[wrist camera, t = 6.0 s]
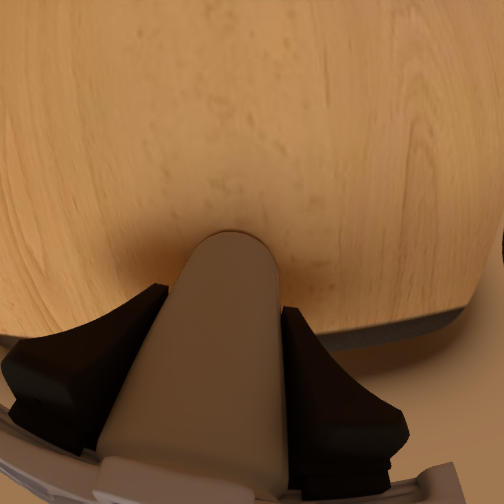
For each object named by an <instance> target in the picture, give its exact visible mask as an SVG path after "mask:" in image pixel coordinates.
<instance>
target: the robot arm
mask: <svg viewBox="0 0 504 504" xmlns="http://www.w3.org/2000/svg"><path fill="white" fill-rule="evenodd" d="M168 292H169V286H167V285H162V284H157V283H154V284H153V285H151V286H150V287H148V288H147V289H145V290H144V291H143V292H141V293H140V294H138V295H137V296H135V297H134V298H132V299H131V300H129V301H128V302H126V303H125V304H123V305H121V306H120V307H118V308H116V309H114V310H113V311H111V312H109V313H108V314H106V315H104V316H102V317H100V318H98V319H96V320H93V321H91V322H89V323H87V324H84V325H81V326H79V327H76V328H73V329H70V330H67V331H64V332H60V333H57V334H53V335H48V336H43V337H38V338H31V339H23V340H19V341H18V342H17V343H16V345H15V346H14V347H13V348H12V349H11V351H10V352H9V353H8V354H7V355H6V357H5V358H4V359H3V360H2V362H1V370H2V374H3V376H4V378H5V380H6V382H7V384H8V386H9V387H10V389H11V391H12V393H13V394H14V396H15V398H16V399H17V400H16V401H15V403H14V404H13V406H12V407H11V409H8V408H6V407H5V406H3V405H2V404H0V472H1V473H3V474H4V475H5V476H7V477H8V478H10V479H11V480H13V481H14V482H15V483H17V484H18V485H20V486H21V487H23V488H24V489H26V490H27V491H29V492H31V493H32V494H34V495H35V496H37V497H39V498H41V499H42V500H44V501H46V502H48V503H49V504H466V502H465V498H464V495H463V492H462V488H461V485H460V482H459V479H458V476H457V473H456V470H455V467H454V464H453V462H449V463H445V464H441V465H437V466H433V467H431V468H428V469H426V470H425V471H423V472H421V473H420V474H419V475H418V476H417V477H416V478H412V479H407V480H402V481H397V482H391V483H390V479H389V474H388V470H389V469H391V462H390V458H391V457H392V456H393V455H395V454H396V453H397V452H398V451H399V450H400V449H401V448H402V447H403V446H404V444H405V443H406V442H407V440H408V438H409V436H410V434H409V430H408V427H407V423H406V421H405V418H404V415H403V413H402V411H401V410H399V409H397V408H395V407H394V406H392V405H390V404H388V403H386V402H385V401H383V400H381V399H380V398H378V397H377V396H375V395H374V394H372V393H371V392H369V391H368V390H367V389H365V388H364V387H363V386H361V385H360V384H359V383H358V382H357V381H355V380H354V379H353V378H352V377H351V376H349V374H348V373H346V372H345V371H344V370H343V369H342V367H341V366H340V365H339V364H338V363H337V362H336V361H335V360H334V359H333V358H332V357H331V356H330V354H329V353H328V352H327V351H326V349H325V348H324V347H323V346H322V344H321V343H320V341H319V340H318V339H317V337H316V336H315V334H314V333H313V331H312V330H311V328H310V327H309V325H308V323H307V322H306V320H305V319H304V317H303V315H302V314H301V312H300V311H299V309H298V308H293V307H286V306H283V310H282V314H281V328H282V344H283V362H284V378H285V394H286V412H287V436H288V474H289V479H288V489H287V492H286V494H285V495H284V496H283V497H282V498H279V499H278V501H279V502H280V503H274V502H267V501H261V500H255V494H254V491H253V490H252V489H251V488H249V487H247V486H245V485H243V484H240V483H238V482H233V481H228V480H224V479H218V478H212V477H206V476H200V475H194V474H189V473H184V472H180V471H175V470H171V469H167V468H162V467H158V466H155V465H151V464H147V463H144V462H140V461H137V460H134V459H129V458H124V457H120V456H111V457H105V458H104V459H103V462H102V464H101V467H100V466H96V464H98V463H100V461H99V459H98V457H97V455H96V448H97V442H98V439H99V437H100V434H101V432H102V430H103V427H104V425H105V423H106V421H107V418H108V416H109V414H110V411H111V409H112V407H113V405H114V403H115V400H116V398H117V396H118V394H119V392H120V389H121V387H122V385H123V383H124V381H125V379H126V377H127V375H128V372H129V370H130V368H131V366H132V364H133V362H134V360H135V358H136V356H137V354H138V352H139V350H140V348H141V346H142V344H143V342H144V340H145V338H146V336H147V334H148V332H149V330H150V328H151V326H152V324H153V322H154V320H155V318H156V316H157V314H158V313H159V311H160V309H161V307H162V305H163V304H164V302H165V300H166V298H167V297H168Z"/></svg>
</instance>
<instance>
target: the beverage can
mask: <svg viewBox="0 0 504 504" xmlns="http://www.w3.org/2000/svg"><path fill="white" fill-rule="evenodd" d="M96 455H97V457H98V459H99V461H100V463H98V464H96V466H100V467H101V464H102V462H103V459H104V458H105V457H111V456H120V457H124V458H129V459H134V460H137V461H140V462H144V463H147V464H151V465H155V466H158V467H162V468H167V469H171V470H175V471H180V472H184V473H189V474H194V475H200V476H206V477H212V478H218V479H224V480H228V481H233V482H238V483H240V484H243V485H245V486H247V487H249V488H251V489H252V490H253V491H254V494H255V500H261V501H267V502H274V503H280V502H279V501H278V499H279V498H282V497H283V496H284V495H285V494H286V492H287V489H288V479H289V474H288V436H287V412H286V394H285V378H284V362H283V344H282V328H281V306H280V289H279V276H278V269H277V266H276V263H275V261H274V258H273V257H272V255H271V253H270V252H269V250H268V249H267V248H266V247H265V246H264V245H263V244H262V243H261V242H260V241H259V240H257V239H255V238H253V237H251V236H249V235H247V234H242V233H237V232H222V233H219V234H216V235H212V236H210V237H208V238H207V239H205V240H204V241H202V242H201V243H200V244H199V245H198V246H197V247H196V248H195V250H194V251H193V252H192V254H191V256H190V258H189V259H188V261H187V263H186V265H185V267H184V268H183V270H182V272H181V274H180V276H179V277H178V279H177V281H176V283H175V284H174V286H173V288H172V290H171V291H170V293H169V295H168V297H167V298H166V300H165V302H164V304H163V305H162V307H161V309H160V311H159V313H158V314H157V316H156V318H155V320H154V322H153V324H152V326H151V328H150V330H149V332H148V334H147V336H146V338H145V340H144V342H143V344H142V346H141V348H140V350H139V352H138V354H137V356H136V358H135V360H134V362H133V364H132V366H131V368H130V370H129V372H128V375H127V377H126V379H125V381H124V383H123V385H122V387H121V389H120V392H119V394H118V396H117V398H116V400H115V403H114V405H113V407H112V409H111V411H110V414H109V416H108V418H107V421H106V423H105V425H104V427H103V430H102V432H101V434H100V437H99V439H98V442H97V448H96Z"/></svg>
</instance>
